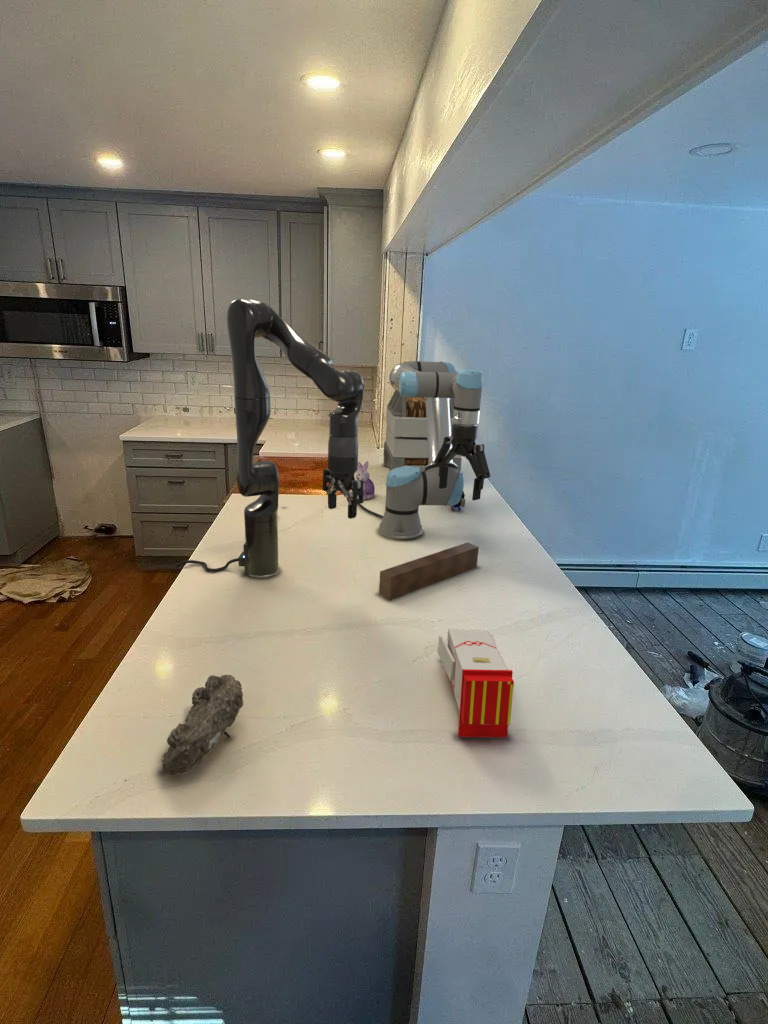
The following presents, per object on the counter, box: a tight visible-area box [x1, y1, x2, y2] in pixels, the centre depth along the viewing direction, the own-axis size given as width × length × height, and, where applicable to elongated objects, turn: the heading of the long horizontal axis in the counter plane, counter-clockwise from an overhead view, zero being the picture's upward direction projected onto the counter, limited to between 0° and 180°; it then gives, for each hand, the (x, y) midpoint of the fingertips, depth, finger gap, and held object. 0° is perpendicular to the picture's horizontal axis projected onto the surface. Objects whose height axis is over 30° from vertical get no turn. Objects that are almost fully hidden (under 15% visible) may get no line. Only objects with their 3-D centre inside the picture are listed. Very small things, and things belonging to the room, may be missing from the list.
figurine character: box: [448, 490, 466, 511], centre depth 229 cm, size 7×8×15 cm
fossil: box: [161, 674, 244, 776], centre depth 102 cm, size 22×10×15 cm
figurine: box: [355, 460, 376, 501], centre depth 234 cm, size 9×10×15 cm
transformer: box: [383, 389, 463, 472], centre depth 268 cm, size 34×33×41 cm
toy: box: [437, 628, 515, 738], centre depth 117 cm, size 12×13×30 cm
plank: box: [378, 541, 480, 601], centre depth 166 cm, size 36×4×7 cm, turn 131°
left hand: (341, 513), depth 148 cm, fingers open, 8 cm apart
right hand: (458, 493), depth 172 cm, fingers open, 13 cm apart
